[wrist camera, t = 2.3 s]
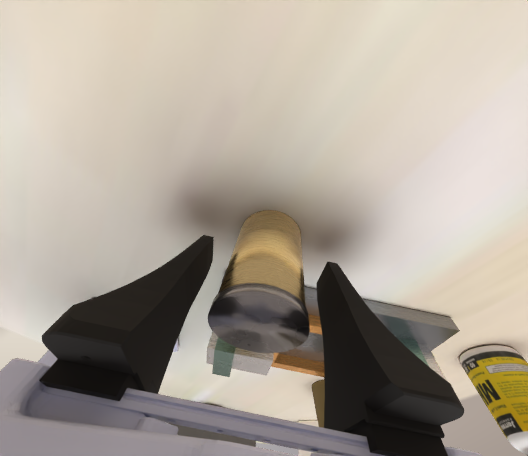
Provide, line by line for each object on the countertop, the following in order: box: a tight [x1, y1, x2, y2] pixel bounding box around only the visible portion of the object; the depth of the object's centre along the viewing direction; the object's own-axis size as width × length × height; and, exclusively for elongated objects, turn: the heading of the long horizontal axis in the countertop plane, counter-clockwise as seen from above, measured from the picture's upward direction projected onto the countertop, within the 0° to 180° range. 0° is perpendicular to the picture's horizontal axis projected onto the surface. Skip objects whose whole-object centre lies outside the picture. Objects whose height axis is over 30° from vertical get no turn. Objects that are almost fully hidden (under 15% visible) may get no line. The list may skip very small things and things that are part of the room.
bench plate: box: [207, 272, 460, 381], centre depth 19 cm, size 20×13×5 cm, turn 80°
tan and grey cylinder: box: [208, 210, 310, 353], centre depth 12 cm, size 5×5×7 cm
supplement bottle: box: [460, 345, 528, 456], centre depth 17 cm, size 5×5×8 cm
